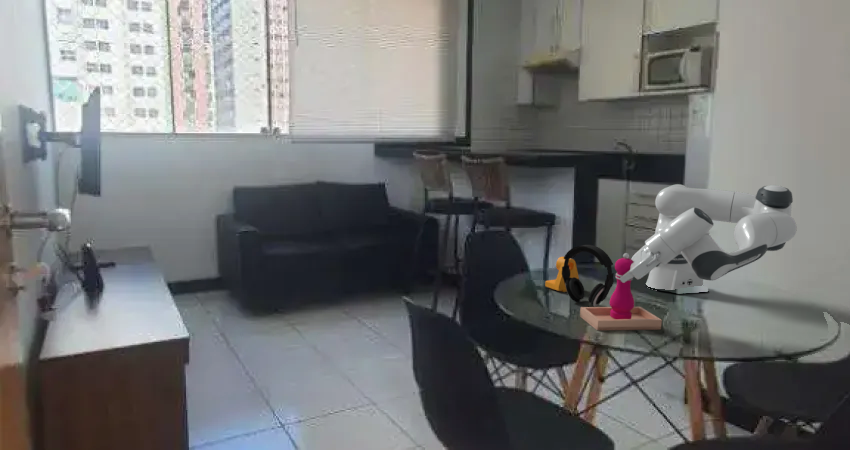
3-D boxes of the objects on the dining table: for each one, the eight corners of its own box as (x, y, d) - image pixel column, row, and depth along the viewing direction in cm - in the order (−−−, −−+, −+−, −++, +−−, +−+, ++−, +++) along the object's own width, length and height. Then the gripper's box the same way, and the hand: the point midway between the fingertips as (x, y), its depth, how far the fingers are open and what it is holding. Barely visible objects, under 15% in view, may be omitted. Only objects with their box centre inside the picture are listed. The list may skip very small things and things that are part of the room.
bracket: (564, 284, 225) (567, 253, 223) (579, 289, 219) (581, 257, 217) (543, 288, 219) (546, 256, 217) (558, 293, 213) (560, 260, 211)
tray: (639, 315, 190) (640, 306, 189) (660, 329, 177) (661, 319, 177) (579, 316, 187) (580, 307, 186) (597, 330, 174) (598, 320, 174)
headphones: (614, 308, 197) (620, 249, 194) (602, 312, 192) (608, 252, 188) (568, 295, 210) (572, 240, 206) (555, 299, 204) (559, 242, 201)
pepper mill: (633, 315, 184) (639, 252, 181) (633, 322, 177) (639, 256, 174) (608, 312, 186) (614, 249, 183) (607, 318, 179) (613, 254, 176)
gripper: (667, 265, 165) (627, 294, 170) (665, 251, 184) (629, 278, 189) (652, 248, 166) (612, 277, 171) (651, 235, 185) (616, 263, 190)
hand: (621, 278), depth 180 cm, fingers closed on pepper mill, 5 cm apart
